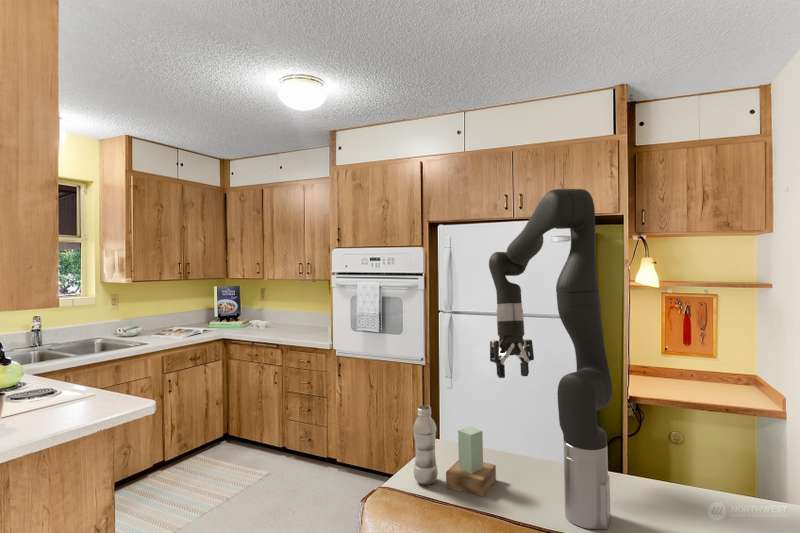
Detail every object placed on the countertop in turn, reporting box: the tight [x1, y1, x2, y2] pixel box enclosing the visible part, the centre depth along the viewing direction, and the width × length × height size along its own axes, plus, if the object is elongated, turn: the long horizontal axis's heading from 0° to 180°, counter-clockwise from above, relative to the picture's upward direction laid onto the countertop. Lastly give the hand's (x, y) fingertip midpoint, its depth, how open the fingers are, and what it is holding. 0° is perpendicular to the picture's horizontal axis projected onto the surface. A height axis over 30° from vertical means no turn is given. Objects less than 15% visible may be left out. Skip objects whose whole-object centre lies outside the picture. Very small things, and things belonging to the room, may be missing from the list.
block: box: [457, 425, 484, 474], centre depth 120 cm, size 4×4×10 cm
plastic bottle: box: [412, 405, 439, 485], centre depth 121 cm, size 6×7×20 cm
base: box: [445, 459, 497, 497], centre depth 119 cm, size 10×10×4 cm
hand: (513, 376), depth 128 cm, fingers open, 8 cm apart
